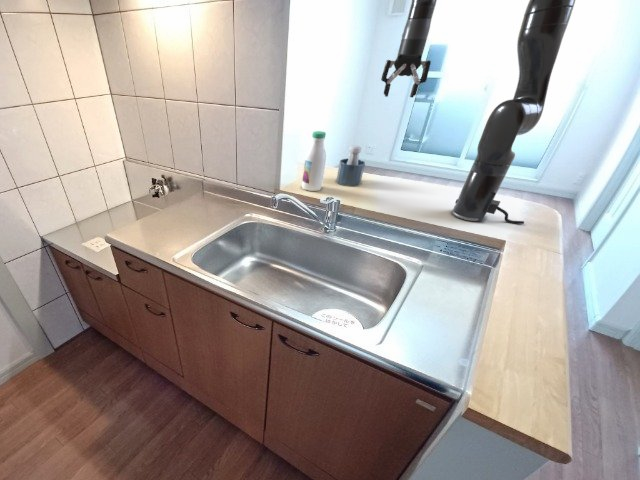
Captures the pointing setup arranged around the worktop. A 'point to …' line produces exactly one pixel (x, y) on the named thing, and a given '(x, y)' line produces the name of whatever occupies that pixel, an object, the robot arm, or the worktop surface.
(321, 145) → the milk bottle
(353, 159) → the salt shaker
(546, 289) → the worktop surface
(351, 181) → the cup
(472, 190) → the robot arm
